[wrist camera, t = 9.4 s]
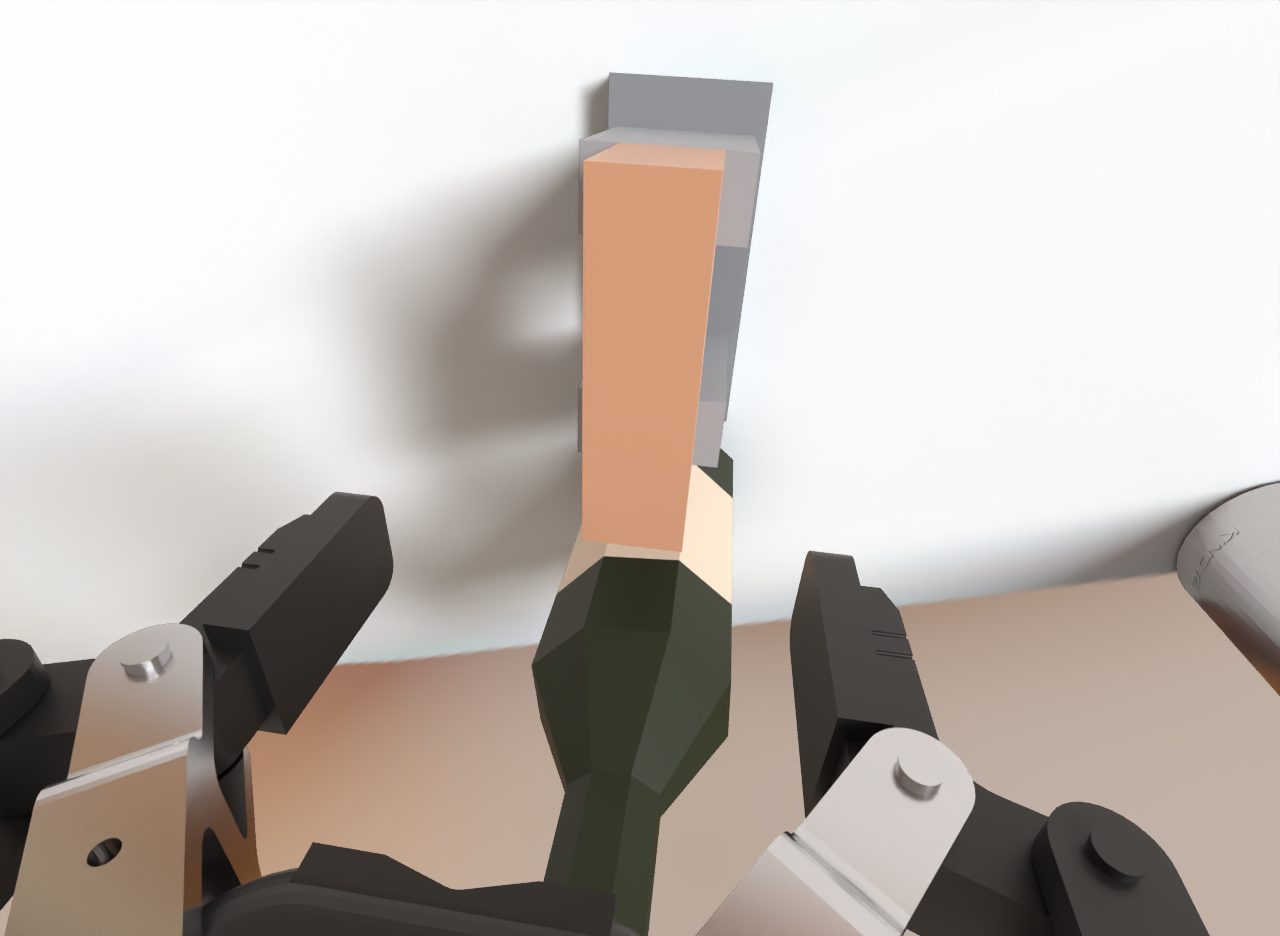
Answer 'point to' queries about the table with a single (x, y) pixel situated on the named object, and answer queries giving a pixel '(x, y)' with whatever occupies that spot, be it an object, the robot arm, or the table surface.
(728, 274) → the stand
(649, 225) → the rectangular block
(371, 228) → the table surface
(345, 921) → the robot arm
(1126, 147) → the table surface
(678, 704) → the wine bottle
